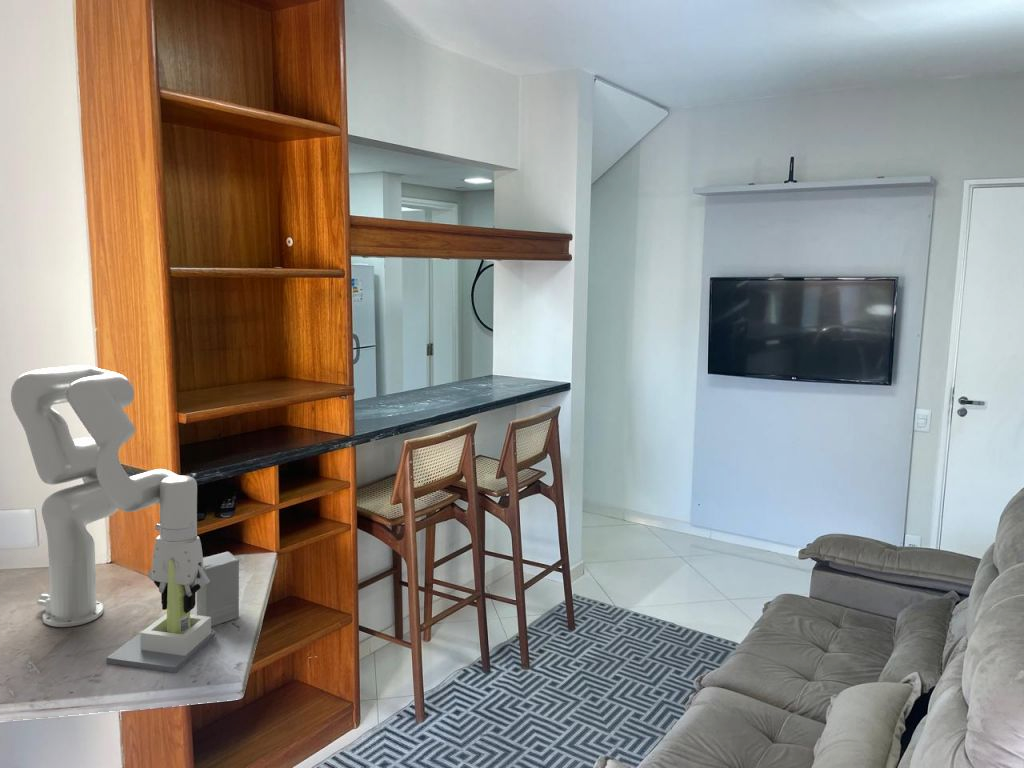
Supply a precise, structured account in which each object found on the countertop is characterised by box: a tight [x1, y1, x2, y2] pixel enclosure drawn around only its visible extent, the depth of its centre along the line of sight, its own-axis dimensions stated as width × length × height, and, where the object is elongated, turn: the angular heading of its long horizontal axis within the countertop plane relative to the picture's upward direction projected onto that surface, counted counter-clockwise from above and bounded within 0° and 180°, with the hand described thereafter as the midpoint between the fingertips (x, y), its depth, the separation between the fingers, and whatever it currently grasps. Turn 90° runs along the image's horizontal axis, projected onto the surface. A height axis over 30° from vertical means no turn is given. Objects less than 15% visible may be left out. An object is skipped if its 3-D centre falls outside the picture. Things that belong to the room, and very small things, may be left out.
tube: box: [166, 558, 191, 635], centre depth 167 cm, size 6×5×20 cm
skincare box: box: [196, 551, 240, 627], centre depth 180 cm, size 8×7×16 cm
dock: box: [105, 612, 217, 674], centre depth 165 cm, size 16×16×5 cm
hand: (178, 607), depth 167 cm, fingers closed on tube, 4 cm apart
